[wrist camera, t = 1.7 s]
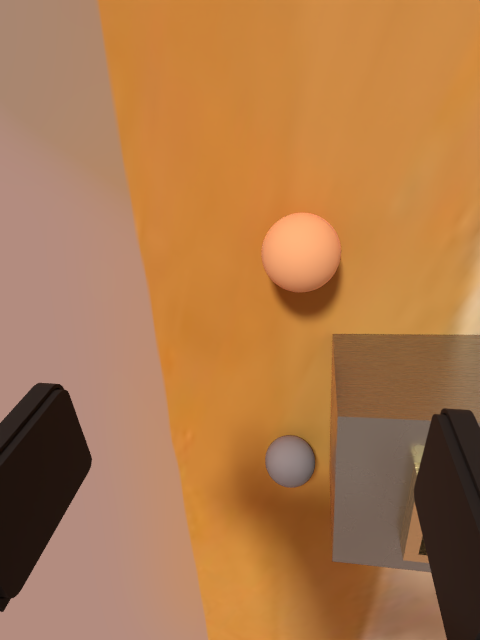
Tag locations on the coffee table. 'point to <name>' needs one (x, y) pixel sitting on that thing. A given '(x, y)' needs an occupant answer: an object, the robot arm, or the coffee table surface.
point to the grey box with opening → (390, 437)
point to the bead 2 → (290, 461)
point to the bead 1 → (301, 252)
